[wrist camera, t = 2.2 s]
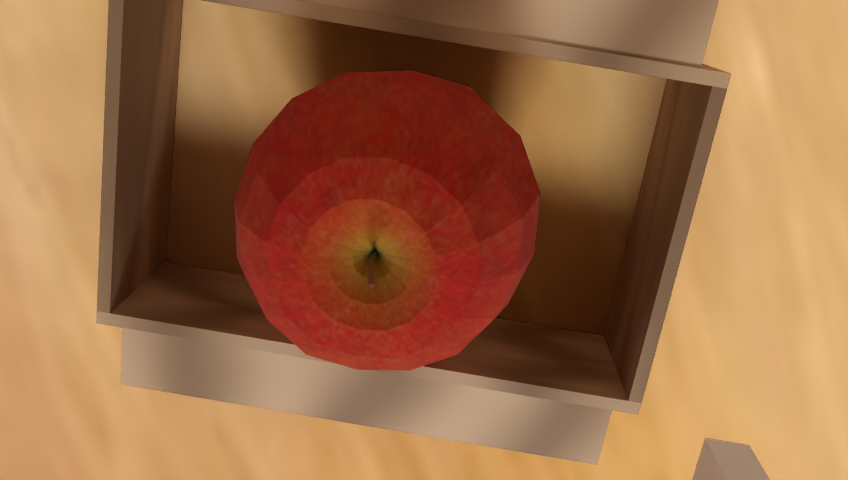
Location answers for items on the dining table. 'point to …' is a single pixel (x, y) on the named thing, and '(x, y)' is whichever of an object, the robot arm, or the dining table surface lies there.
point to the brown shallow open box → (496, 344)
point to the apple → (386, 219)
